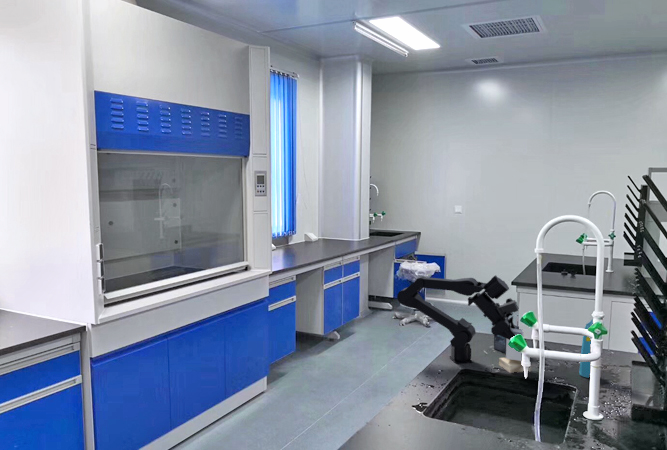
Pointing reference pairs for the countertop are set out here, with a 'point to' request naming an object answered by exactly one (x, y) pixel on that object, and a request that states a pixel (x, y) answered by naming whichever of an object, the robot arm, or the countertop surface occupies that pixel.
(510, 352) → the carton
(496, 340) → the box
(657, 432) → the countertop surface
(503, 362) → the block
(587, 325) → the blue plastic bottle
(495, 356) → the countertop surface
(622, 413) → the countertop surface
